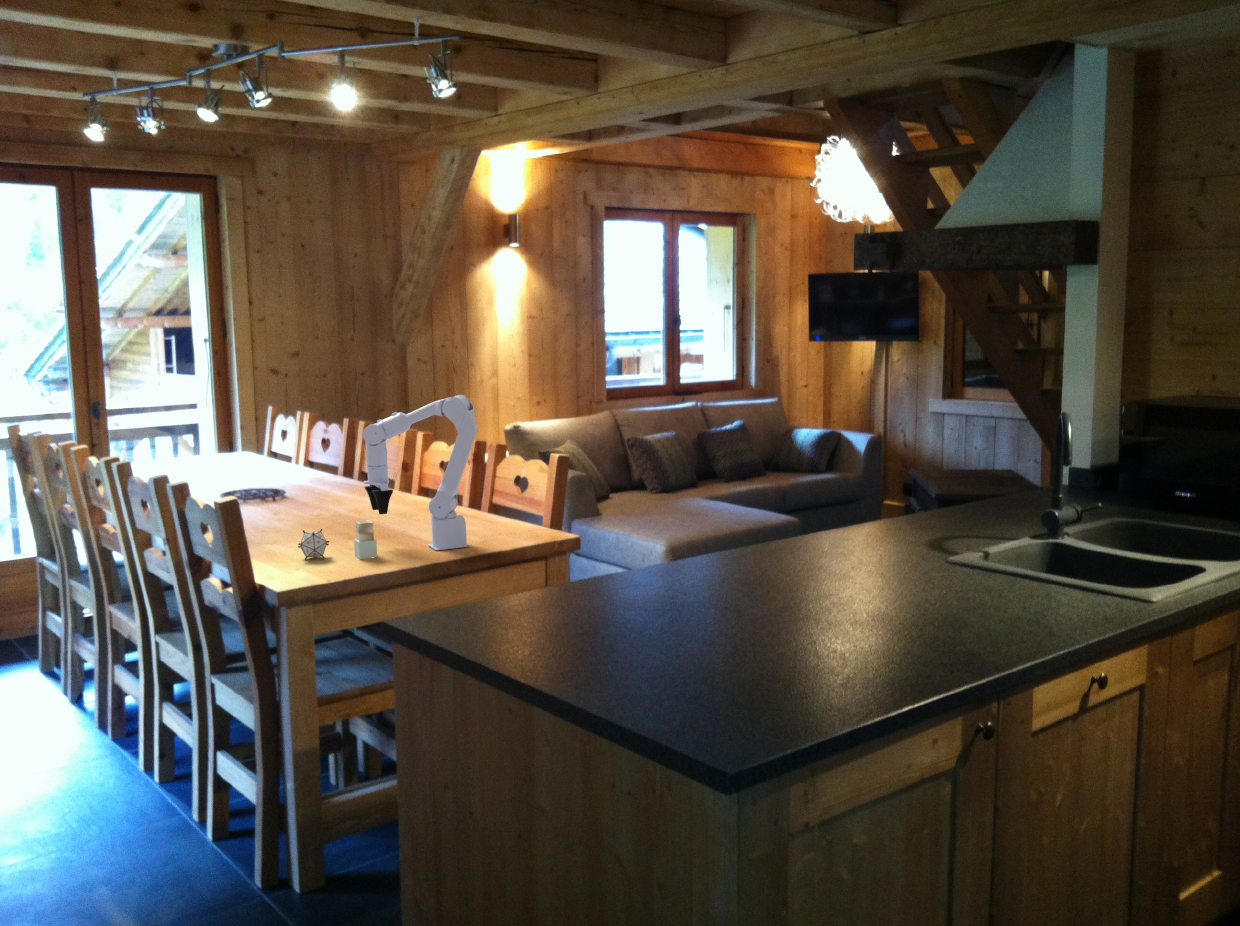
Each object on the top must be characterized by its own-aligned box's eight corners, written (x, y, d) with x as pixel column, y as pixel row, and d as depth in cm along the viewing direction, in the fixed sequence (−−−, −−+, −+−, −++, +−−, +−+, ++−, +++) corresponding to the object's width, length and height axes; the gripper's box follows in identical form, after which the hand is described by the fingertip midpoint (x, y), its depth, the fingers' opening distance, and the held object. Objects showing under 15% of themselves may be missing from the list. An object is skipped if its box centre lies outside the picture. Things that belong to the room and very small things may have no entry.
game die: (318, 572, 302) (318, 548, 295) (291, 560, 303) (290, 537, 296) (335, 551, 308) (335, 527, 301) (309, 539, 309) (308, 516, 303)
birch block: (370, 537, 305) (369, 519, 304) (374, 540, 302) (373, 522, 301) (356, 538, 304) (355, 521, 303) (359, 541, 300) (358, 523, 299)
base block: (372, 554, 307) (371, 536, 306) (377, 557, 302) (376, 540, 301) (355, 556, 304) (354, 538, 304) (359, 559, 300) (358, 542, 299)
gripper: (357, 463, 316) (359, 509, 318) (369, 469, 304) (372, 517, 305) (381, 461, 319) (383, 506, 321) (394, 467, 307) (396, 514, 309)
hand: (379, 511), depth 314 cm, fingers open, 7 cm apart
